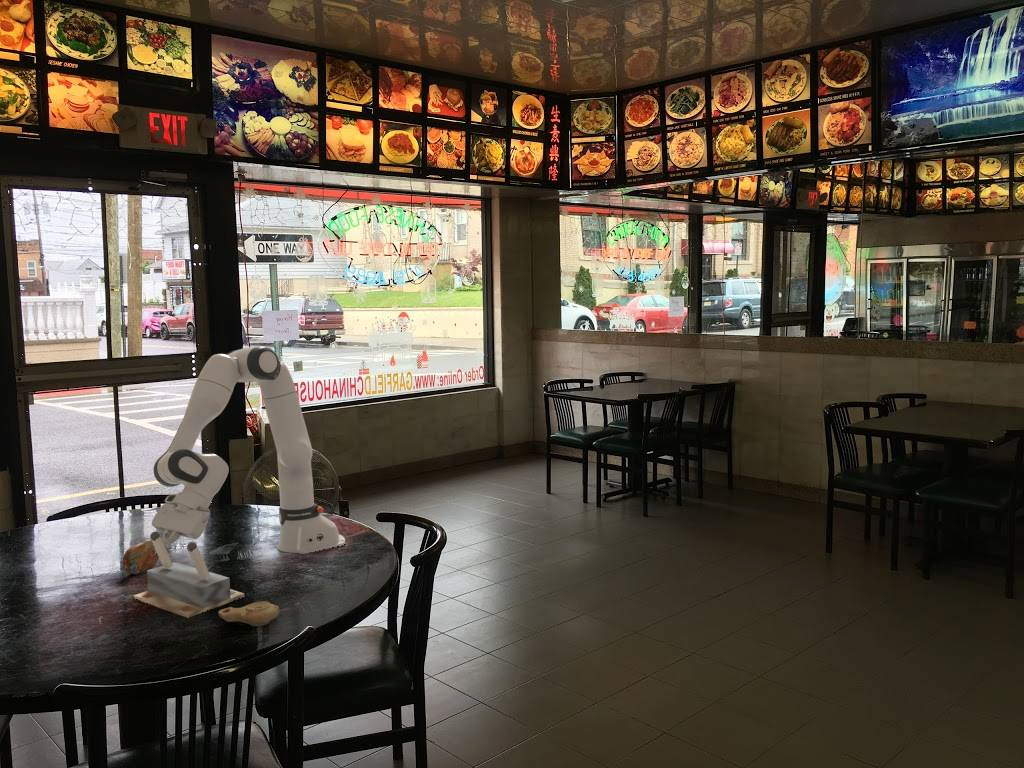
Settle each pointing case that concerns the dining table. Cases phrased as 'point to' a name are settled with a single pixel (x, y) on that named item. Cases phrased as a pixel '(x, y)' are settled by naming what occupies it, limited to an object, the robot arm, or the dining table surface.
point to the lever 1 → (161, 550)
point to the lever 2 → (198, 561)
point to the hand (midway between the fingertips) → (164, 546)
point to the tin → (140, 557)
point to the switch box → (186, 590)
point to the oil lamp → (251, 613)
